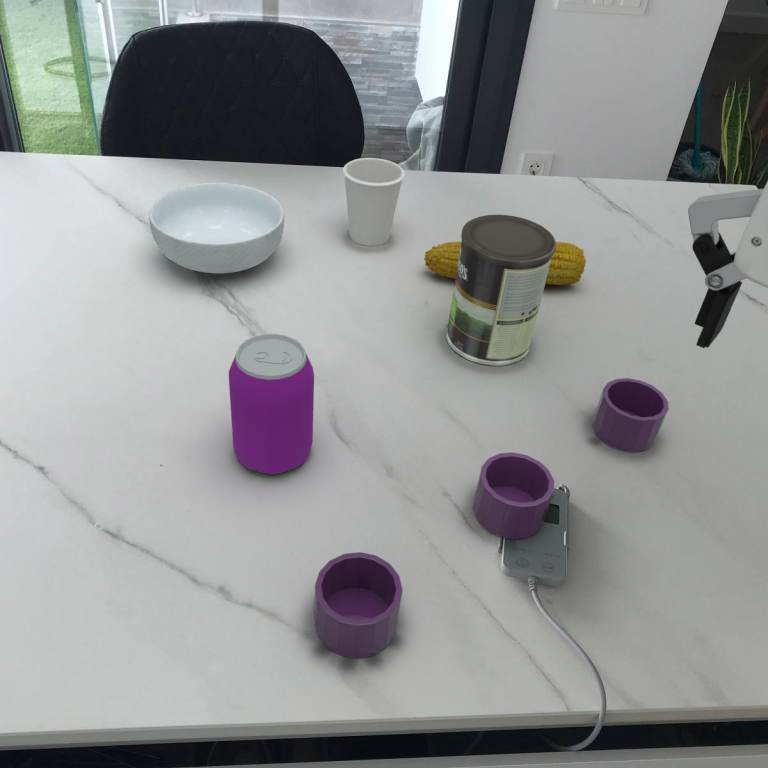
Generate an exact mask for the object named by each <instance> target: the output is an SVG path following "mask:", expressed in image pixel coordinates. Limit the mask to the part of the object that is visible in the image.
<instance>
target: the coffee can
mask: <svg viewBox="0 0 768 768" xmlns="http://www.w3.org/2000/svg"><path fill="white" fill-rule="evenodd" d="M460 238H461V240H460V242H461V248H460V254H459V261H458V267H457V273H456V278H455V281H454V287H453V292H452V299H451V305H450V311H449V318H448V324H447V329H446V331H445V337H446V341H447V344H448V346H449V347H450V348H451V349H452V350H453V351H454V352H455V353H456V354H457V355H459V357H460V356H461V357H462V358H463V359H465V360H468V361H470V362H472V363H476V364H479V365H483V366H492V367H493V366H494V367H495V366H496V367H500V366H508V365H512V364H516V363H518V362H520V361H522V360H523V359H524V358H525V357H526V356H527V355H528V354H529V352H530V350H531V343H532V338H533V334H534V330H535V326H536V322H537V318H538V316H539V315H538V314H539V310H540V306H541V302H542V298H543V294H544V290H545V286H546V284H545V282H546V278H547V274H548V271H549V267H550V263H551V258H552V256H553V254H554V251H555V248H556V242H557V241H556V239H555V236H554V235H553V234H552V233H551V232H550V231H549V230H548V229H547V228H546V227H544V226H542V225H540V224H539V223H536V222H534V221H532V220H530V219H528V218H523V217H519V216H515V215H508V214H485V215H481V216H478V217H475V218H472V219H470V220H469V221H467V222H466V223H465V224H464V225H463V227H462V228H461V235H460Z"/></svg>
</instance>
